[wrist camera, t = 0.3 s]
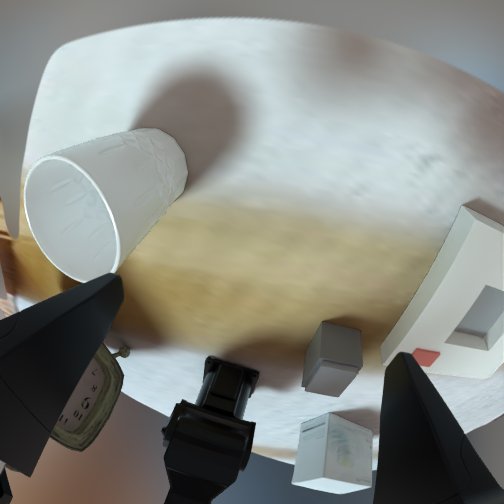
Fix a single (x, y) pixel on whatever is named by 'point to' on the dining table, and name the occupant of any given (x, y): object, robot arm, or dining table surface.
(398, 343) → the socket plate
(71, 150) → the white cup
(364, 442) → the skincare box
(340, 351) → the plug
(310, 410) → the dining table surface
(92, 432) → the tabletop clock
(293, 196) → the dining table surface
